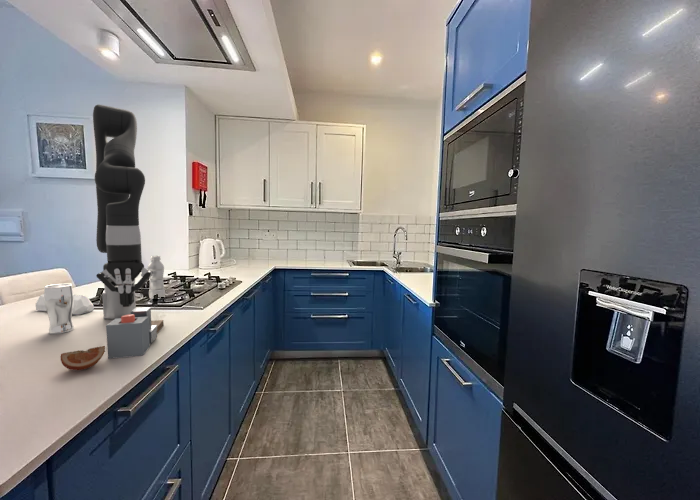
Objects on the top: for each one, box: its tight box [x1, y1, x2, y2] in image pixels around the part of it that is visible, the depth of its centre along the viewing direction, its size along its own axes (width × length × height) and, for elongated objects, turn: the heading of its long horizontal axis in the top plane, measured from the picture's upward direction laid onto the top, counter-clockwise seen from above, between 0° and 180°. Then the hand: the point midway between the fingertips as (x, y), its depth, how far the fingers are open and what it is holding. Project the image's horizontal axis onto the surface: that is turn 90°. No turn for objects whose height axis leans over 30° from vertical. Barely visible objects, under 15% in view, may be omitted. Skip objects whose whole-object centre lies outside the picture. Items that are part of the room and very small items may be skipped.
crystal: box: [35, 293, 95, 316], centre depth 125 cm, size 7×7×24 cm
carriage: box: [131, 306, 158, 345], centre depth 94 cm, size 6×6×10 cm
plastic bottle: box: [146, 255, 166, 300], centre depth 143 cm, size 6×7×20 cm
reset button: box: [121, 314, 135, 323], centre depth 86 cm, size 3×3×7 cm
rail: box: [151, 319, 165, 334], centre depth 100 cm, size 4×19×2 cm, turn 17°
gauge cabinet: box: [105, 316, 151, 359], centre depth 87 cm, size 8×6×9 cm
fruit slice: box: [59, 345, 106, 371], centre depth 77 cm, size 8×7×5 cm
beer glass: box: [43, 283, 75, 335], centre depth 102 cm, size 7×7×15 cm
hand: (127, 305), depth 86 cm, fingers closed
